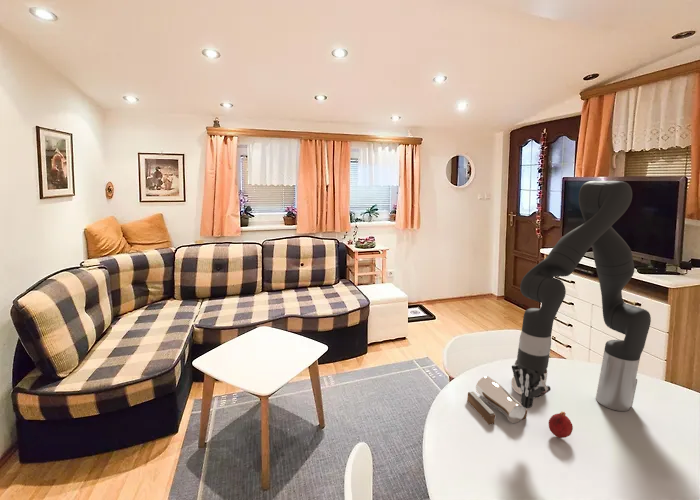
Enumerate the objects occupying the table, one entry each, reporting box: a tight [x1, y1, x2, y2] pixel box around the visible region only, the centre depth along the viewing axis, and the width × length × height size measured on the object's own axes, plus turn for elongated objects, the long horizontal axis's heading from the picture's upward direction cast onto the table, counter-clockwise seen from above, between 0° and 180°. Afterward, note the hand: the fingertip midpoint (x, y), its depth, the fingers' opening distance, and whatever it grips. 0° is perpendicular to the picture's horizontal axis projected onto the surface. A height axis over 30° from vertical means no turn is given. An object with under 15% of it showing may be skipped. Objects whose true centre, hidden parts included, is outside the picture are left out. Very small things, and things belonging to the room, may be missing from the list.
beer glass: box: [475, 375, 525, 424], centre depth 119 cm, size 7×7×15 cm
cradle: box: [466, 391, 528, 426], centre depth 118 cm, size 13×12×3 cm
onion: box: [548, 411, 574, 439], centre depth 106 cm, size 6×6×8 cm
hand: (526, 406), depth 105 cm, fingers closed
